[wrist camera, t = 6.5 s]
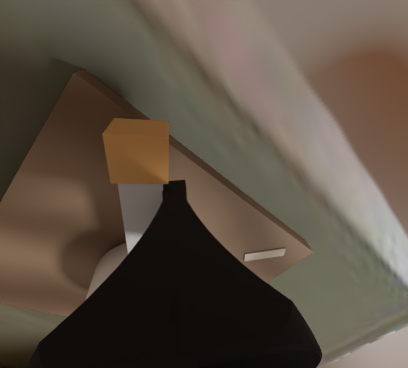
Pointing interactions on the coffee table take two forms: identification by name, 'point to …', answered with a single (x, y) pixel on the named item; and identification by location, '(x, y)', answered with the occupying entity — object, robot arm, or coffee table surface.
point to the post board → (110, 207)
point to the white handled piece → (134, 181)
